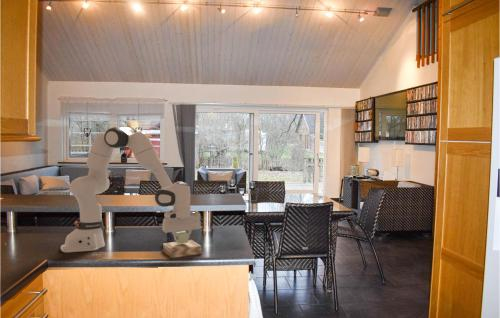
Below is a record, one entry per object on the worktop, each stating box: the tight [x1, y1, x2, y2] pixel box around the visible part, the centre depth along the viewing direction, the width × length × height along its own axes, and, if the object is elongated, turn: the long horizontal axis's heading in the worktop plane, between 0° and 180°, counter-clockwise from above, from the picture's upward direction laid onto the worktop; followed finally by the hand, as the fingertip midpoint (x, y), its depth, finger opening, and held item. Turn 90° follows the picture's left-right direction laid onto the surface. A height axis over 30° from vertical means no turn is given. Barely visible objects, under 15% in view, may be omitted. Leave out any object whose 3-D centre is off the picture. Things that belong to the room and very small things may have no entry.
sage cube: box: [176, 230, 189, 244], centre depth 222 cm, size 5×5×5 cm
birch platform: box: [162, 239, 202, 259], centre depth 222 cm, size 16×14×4 cm
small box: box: [166, 231, 181, 243], centre depth 241 cm, size 11×6×10 cm, turn 105°
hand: (181, 238), depth 222 cm, fingers closed on sage cube, 5 cm apart
